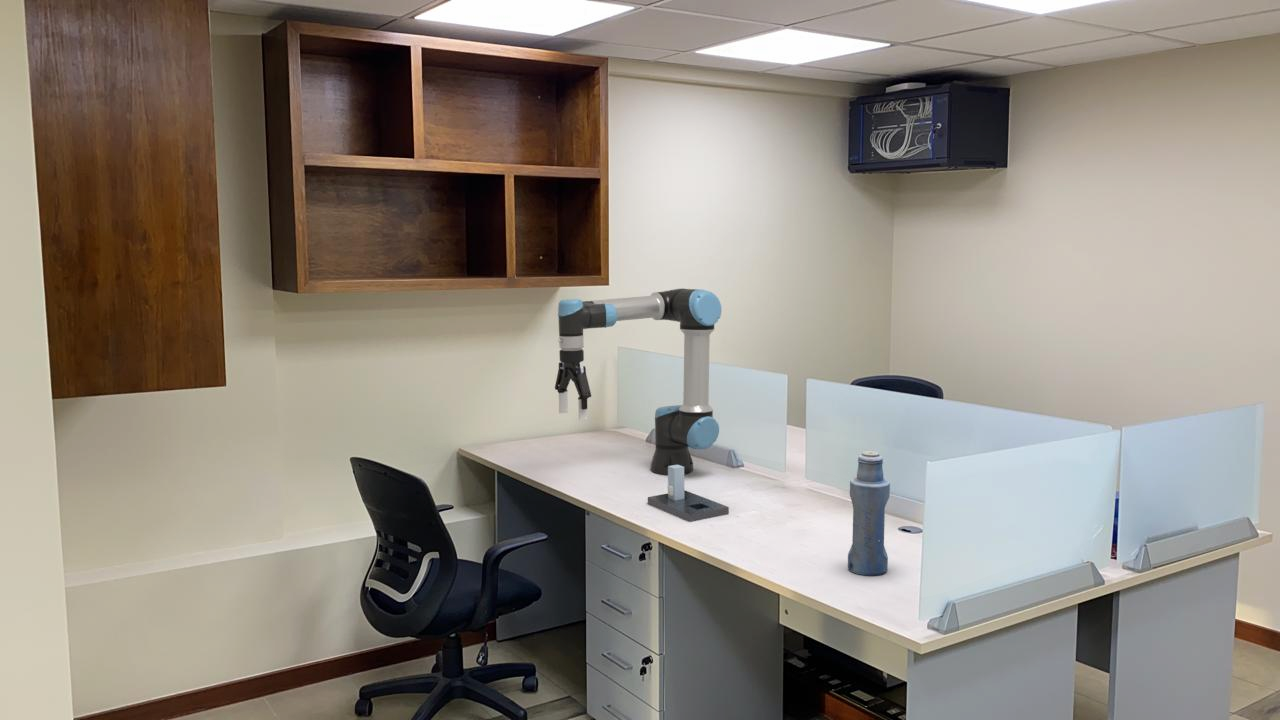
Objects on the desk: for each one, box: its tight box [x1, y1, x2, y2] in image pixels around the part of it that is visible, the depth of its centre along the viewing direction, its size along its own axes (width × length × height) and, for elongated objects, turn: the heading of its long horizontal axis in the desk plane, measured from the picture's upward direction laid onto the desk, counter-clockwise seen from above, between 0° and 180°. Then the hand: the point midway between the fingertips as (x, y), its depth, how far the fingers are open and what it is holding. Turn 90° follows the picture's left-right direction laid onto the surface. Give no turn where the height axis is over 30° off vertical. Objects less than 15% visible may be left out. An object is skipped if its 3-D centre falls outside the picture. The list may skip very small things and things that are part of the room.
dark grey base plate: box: [647, 489, 730, 523], centre depth 302 cm, size 14×23×3 cm, turn 32°
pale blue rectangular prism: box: [667, 465, 685, 501], centre depth 306 cm, size 4×4×12 cm
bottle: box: [847, 450, 891, 576], centre depth 247 cm, size 10×10×30 cm
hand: (573, 416), depth 313 cm, fingers open, 13 cm apart
